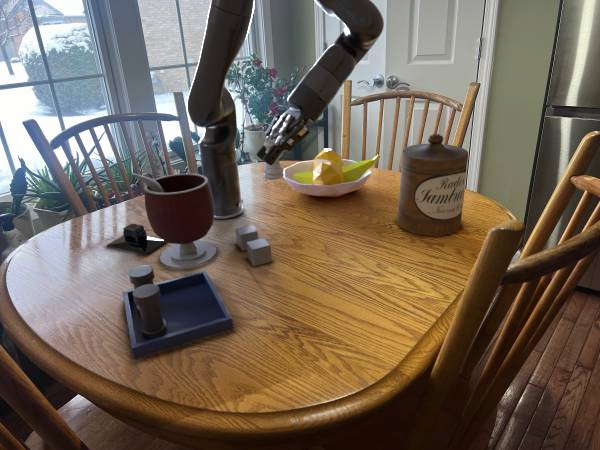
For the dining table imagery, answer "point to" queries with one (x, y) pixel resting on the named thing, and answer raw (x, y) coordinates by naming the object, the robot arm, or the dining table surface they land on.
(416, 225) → the wooden container
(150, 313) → the dark grey cylinder
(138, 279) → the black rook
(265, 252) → the grey block near
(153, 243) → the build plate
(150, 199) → the mate gourd
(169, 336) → the tray
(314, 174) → the fruit bowl
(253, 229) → the grey block far
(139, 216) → the dining table surface
